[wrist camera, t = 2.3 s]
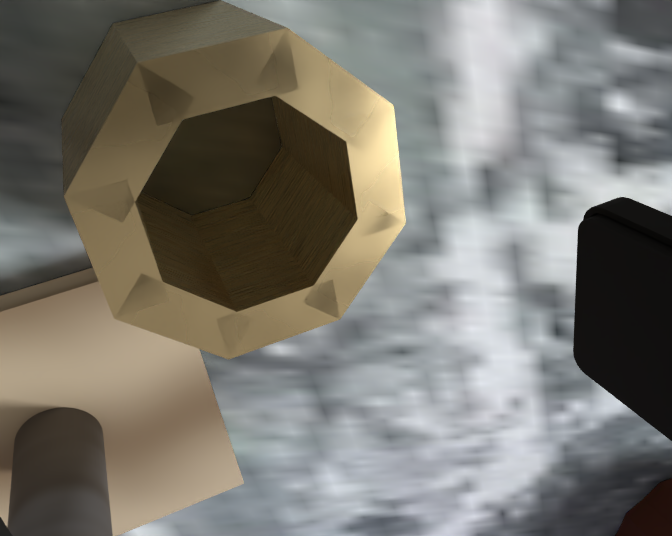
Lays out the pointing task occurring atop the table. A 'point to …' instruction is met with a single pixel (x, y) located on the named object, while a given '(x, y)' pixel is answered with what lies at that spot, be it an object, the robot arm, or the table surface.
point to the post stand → (100, 417)
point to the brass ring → (241, 217)
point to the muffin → (650, 514)
